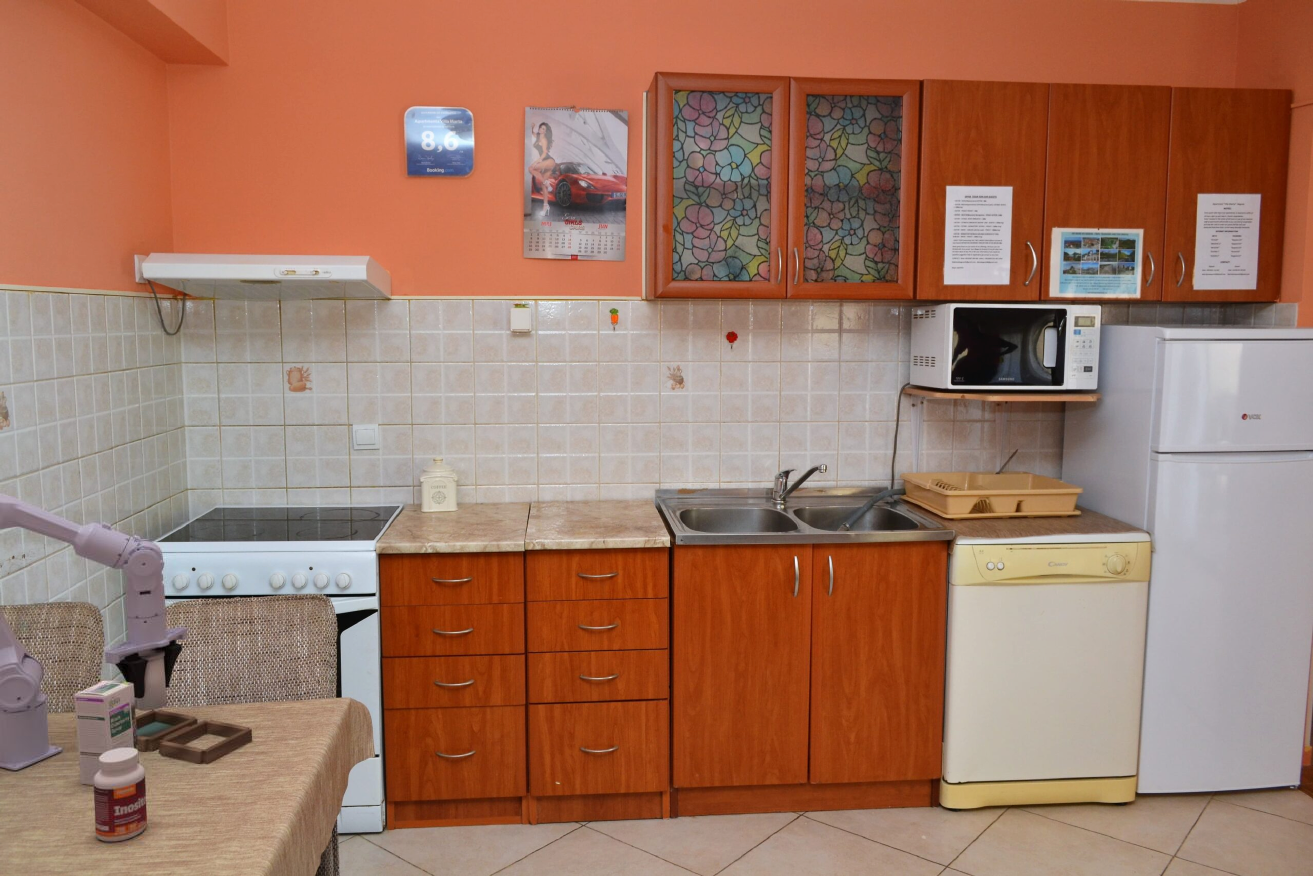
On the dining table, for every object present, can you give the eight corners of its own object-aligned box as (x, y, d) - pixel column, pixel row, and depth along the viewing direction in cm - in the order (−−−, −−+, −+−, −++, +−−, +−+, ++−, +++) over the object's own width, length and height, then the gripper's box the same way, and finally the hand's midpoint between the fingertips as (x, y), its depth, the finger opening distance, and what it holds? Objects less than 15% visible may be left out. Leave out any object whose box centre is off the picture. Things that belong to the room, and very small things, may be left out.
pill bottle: (118, 847, 127) (114, 768, 126) (85, 838, 129) (80, 760, 128) (158, 825, 132) (154, 749, 131) (125, 817, 135) (121, 742, 134)
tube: (129, 709, 160) (125, 657, 159) (153, 699, 165) (150, 648, 164) (150, 712, 158) (146, 660, 158) (174, 702, 163) (171, 651, 162)
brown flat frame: (102, 742, 159) (102, 731, 159) (155, 720, 169) (155, 709, 169) (205, 765, 151) (204, 753, 151) (254, 739, 161) (254, 728, 161)
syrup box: (112, 788, 143) (107, 695, 142) (78, 784, 144) (73, 692, 143) (140, 771, 149) (135, 681, 147) (107, 768, 150) (102, 678, 148)
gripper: (126, 628, 152) (130, 710, 153) (199, 605, 165) (202, 680, 167) (94, 623, 154) (98, 704, 156) (168, 600, 168) (172, 675, 169)
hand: (150, 692), depth 161 cm, fingers closed on tube, 4 cm apart
